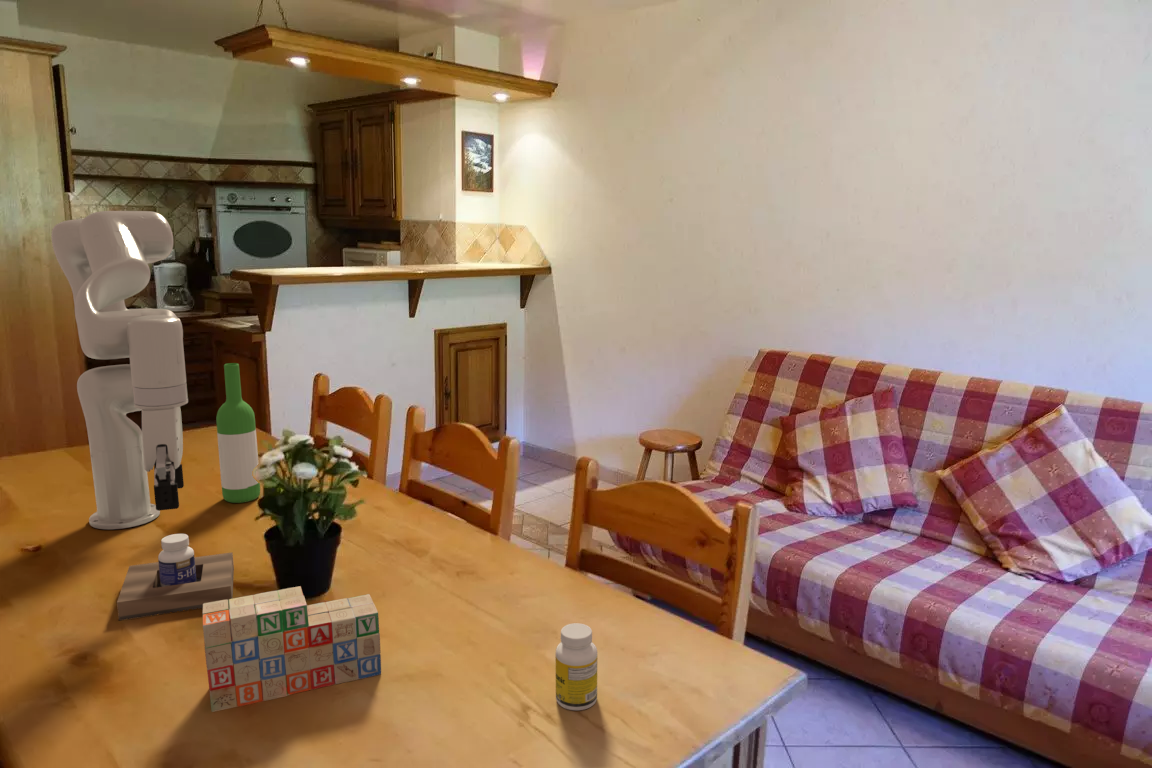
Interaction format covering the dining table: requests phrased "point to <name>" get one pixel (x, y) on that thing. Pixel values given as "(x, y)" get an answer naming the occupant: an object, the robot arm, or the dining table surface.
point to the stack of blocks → (286, 645)
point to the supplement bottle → (576, 668)
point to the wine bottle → (237, 442)
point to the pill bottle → (176, 561)
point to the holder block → (175, 588)
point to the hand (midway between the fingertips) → (170, 498)
